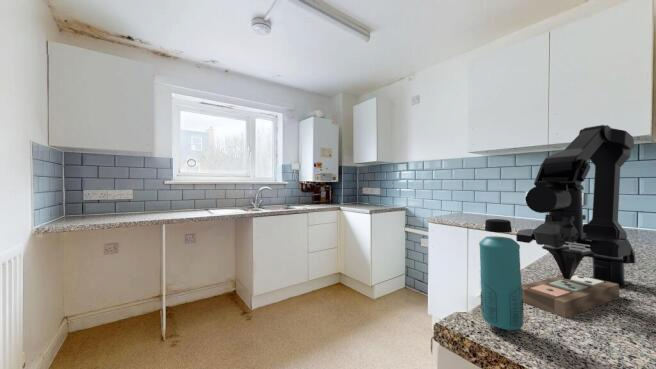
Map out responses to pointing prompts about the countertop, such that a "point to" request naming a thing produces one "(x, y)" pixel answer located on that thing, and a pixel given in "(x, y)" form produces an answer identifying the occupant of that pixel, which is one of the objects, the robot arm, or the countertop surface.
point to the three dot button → (568, 285)
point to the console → (569, 297)
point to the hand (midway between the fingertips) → (567, 279)
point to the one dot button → (550, 291)
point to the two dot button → (586, 280)
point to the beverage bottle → (501, 278)
